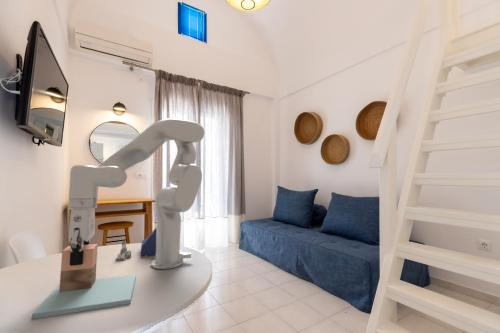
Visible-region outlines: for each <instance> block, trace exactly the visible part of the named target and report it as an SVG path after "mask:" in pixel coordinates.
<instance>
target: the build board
mask: <svg viewBox="0 0 500 333" xmlns="http://www.w3.org/2000/svg"><path fill="white" fill-rule="evenodd" d="M136 279H137V274H130V275H122V276H115V277H114V276H113V277H108V278H107V277H105V278H104V277H103V278H97V279H96V281H95V282H94V284H93V286H92V288H88V289H80V290H73V291H65V292H59V290H60V283H59V284H58V285H57V286H56V287H55V288H54V289H53V290H52V291H51V293H50V294H48V296H47V297H46V298H45V299H44V300H43V301H42V303H40V305H39V306H38V307H37V308H36V309H35V310H33V312H32V313H31V320H35V319H39V318H40V319H41V318H46V317H53V316H59V315H67V314H73V313H78V312H80V313H81V312H86V311H92V310H99V309H105V308H111V307H116V306H117V307H118V306H123V305H124V306H125V305H130V304H131V303H132V302H131V301H132V297H133V293H134V289H135V284H136Z"/></svg>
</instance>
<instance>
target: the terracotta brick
mask: <svg viewBox="0 0 500 333" xmlns="http://www.w3.org/2000/svg"><path fill="white" fill-rule="evenodd" d="M98 247H99V246H98V243H92V244H91V243H90V244H89V245H83V249H82V251H84V252H83V264H82V265H74V266H70V250H71V245H68V246H67V247H65V248H64V249H63V250H62V251H61V266H60V272H61V271H70V270H80V269H90V268H93V267H94V265H95V264H96V265H97V263H98V262H97V261H98ZM96 262H97V263H96Z"/></svg>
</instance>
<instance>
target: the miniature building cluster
mask: <svg viewBox="0 0 500 333" xmlns="http://www.w3.org/2000/svg"><path fill="white" fill-rule="evenodd" d="M131 257H132V250H129V249H128V247H127V242H126V240H122V241H121V248H120V252H119V253H118V252H117V256H116V257H115V259H114V260H115V262H116V261H126V259H130V258H131Z"/></svg>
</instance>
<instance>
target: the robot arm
mask: <svg viewBox="0 0 500 333" xmlns="http://www.w3.org/2000/svg"><path fill="white" fill-rule="evenodd" d="M204 136H205V128H204V127H203V126H202V124H200V123H198V122H197V121H192V120H185V119H184V120H183V119H178V118H170V117H169V118H164V119H161V120H160V119H159V120H157V121H155V122H153V123H151V124H150V125H149V126H148V127H147V128H145V130H143V131H142V132H141V133H140V134H139V135H138V136H136V137H135V138H133V140H131V141H130V142H128V143H127V144H126V145H124V146H122V147H121V148H120V149H119V150H118V151H116V152H115V153H113V154H112V155H111V156H109V157H108V158H106V159H105V160H104V161H102V163H100V164H99V165H98V166H95V165H89V164H88V165H86V164H75V165H73V166H71V168H70V173H69V176H70V177H69V188H68V189H69V190H68V205H67V209H68V210H69V211H70V210H71V211H70V218H69V227H68V241H69V243H70V246H71V250H70V266H74V265H82V264H83V252H84V251H82V249H83V245H89V244H91V239H92V238H93V237H94V236H95V234H96V211H95V209H97V208H98V194H99V193H98V192H99V188H100V187H101V188H102V187H103V188H108V189H109V188H111V189H115V188H118V187H122V186H123V185H124V184H125V183H126V182H127V178H128V175H127V172H126V170H128V169H129V168H131V167H133V166H135V165H137V164H139V163H143V162H144V161H146V160H148V159H149V158H151V157H152V156H153V154H155V153H156V152H157V151H158V150H159V149H160V148H161V147H162V146H163V145H164V144H165V143H166V142H168V141H173V142H174V143H175V145H176V149H177V152H176V154H175V155H176V156H175V158H174V161H173V163H172V165H171V168H170V170H169V173H168V181H169V183H170V184H171V185H173V186H176V187H171V186H170V187H163V188H161V189H160V190H158V192H157V193H156V195H155V208H156V227H157V233H156V255H155V258H154V259H153V260H152V261H151V262H150V267H152V268H153V269H157V270H168V269H169V270H170V269H174V268H178V267H180V266H182V265H183V264H184V259H191V258H192V253H191V252H189V253H188V252H186V251H185V252H182V251H181V231H182V230H181V229H182V228H181V227H182V218H181V213H185V212H187V211H189V210H190V209H191V208H192V206H193V205H194V202H195V199H196V197H197V195H198V192H199V190H200V186H201V183H202V180H203V172H202V170H201V167H199V165H197V164H195V162H196V159H197V151H196V148H195V145H194V143H198V142H201V141H202V140H203V138H204Z"/></svg>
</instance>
